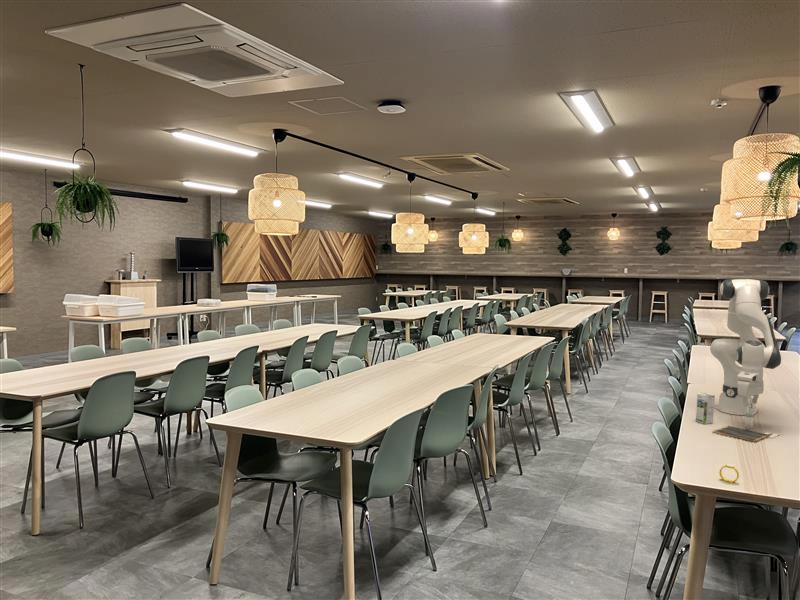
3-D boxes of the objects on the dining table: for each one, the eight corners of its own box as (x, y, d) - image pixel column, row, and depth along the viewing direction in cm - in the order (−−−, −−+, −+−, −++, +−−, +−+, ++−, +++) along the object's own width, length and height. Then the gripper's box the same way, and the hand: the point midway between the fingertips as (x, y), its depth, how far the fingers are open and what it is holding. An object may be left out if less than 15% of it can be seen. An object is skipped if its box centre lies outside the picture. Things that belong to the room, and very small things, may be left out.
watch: (738, 482, 209) (740, 466, 208) (736, 485, 207) (739, 468, 206) (719, 477, 212) (722, 461, 212) (718, 479, 210) (720, 463, 210)
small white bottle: (746, 429, 278) (747, 412, 278) (753, 431, 276) (754, 414, 275) (742, 430, 276) (744, 413, 276) (750, 432, 274) (751, 415, 273)
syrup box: (695, 421, 291) (696, 392, 290) (703, 420, 293) (705, 392, 292) (704, 424, 286) (706, 395, 285) (713, 423, 288) (715, 394, 287)
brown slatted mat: (728, 427, 281) (728, 425, 281) (770, 436, 267) (770, 434, 267) (712, 433, 271) (712, 430, 271) (754, 442, 257) (754, 440, 257)
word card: (767, 432, 273) (767, 431, 273) (779, 435, 270) (779, 434, 269) (760, 435, 269) (760, 434, 269) (772, 438, 265) (772, 437, 265)
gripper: (753, 372, 283) (752, 401, 284) (735, 376, 271) (733, 405, 271) (768, 374, 278) (766, 403, 279) (750, 378, 266) (748, 408, 266)
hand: (750, 404), depth 275 cm, fingers open, 8 cm apart
